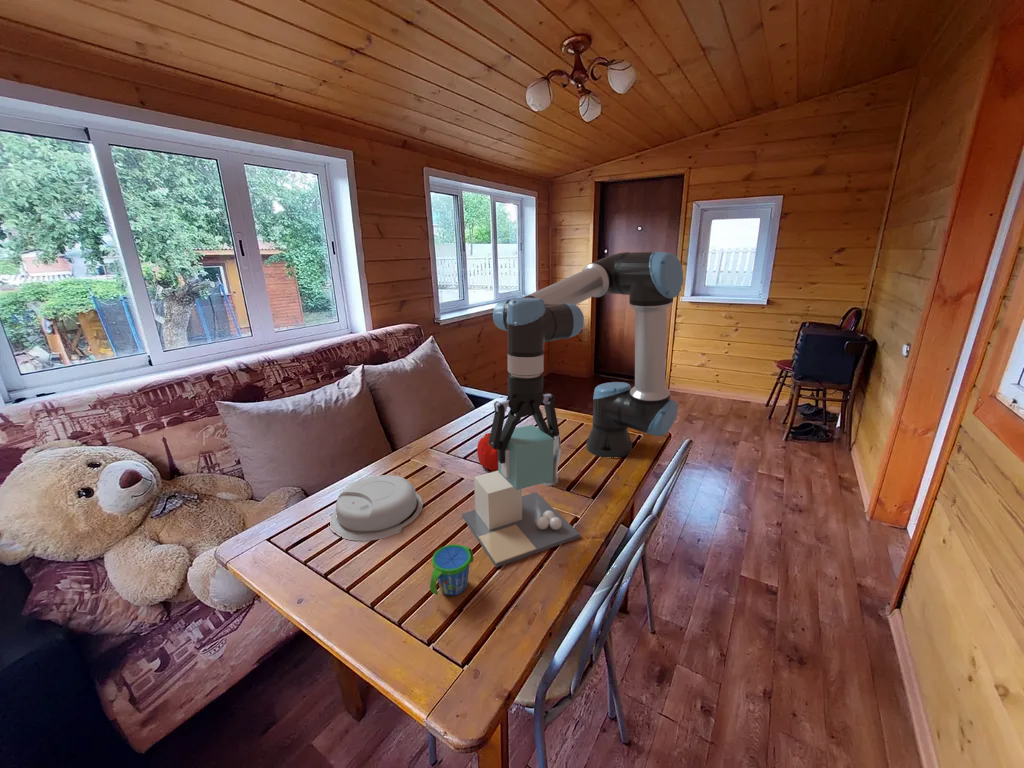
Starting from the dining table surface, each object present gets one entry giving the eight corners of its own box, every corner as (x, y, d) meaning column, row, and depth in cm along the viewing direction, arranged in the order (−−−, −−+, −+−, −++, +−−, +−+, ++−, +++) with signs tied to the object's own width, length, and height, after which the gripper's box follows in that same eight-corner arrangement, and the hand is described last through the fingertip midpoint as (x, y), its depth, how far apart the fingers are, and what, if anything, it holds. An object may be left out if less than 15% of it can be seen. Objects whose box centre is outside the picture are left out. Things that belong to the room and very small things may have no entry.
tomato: (470, 472, 132) (469, 441, 129) (488, 454, 144) (487, 425, 141) (511, 480, 128) (510, 448, 124) (526, 461, 139) (526, 431, 136)
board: (536, 495, 120) (536, 491, 119) (579, 537, 102) (580, 532, 101) (462, 516, 110) (462, 512, 110) (496, 567, 92) (495, 562, 92)
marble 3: (557, 523, 105) (557, 513, 104) (564, 530, 103) (564, 519, 102) (546, 527, 104) (547, 516, 103) (553, 533, 101) (553, 523, 101)
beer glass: (558, 488, 123) (559, 440, 118) (535, 486, 124) (535, 439, 120) (561, 476, 129) (562, 430, 125) (538, 474, 131) (538, 429, 126)
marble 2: (550, 517, 108) (550, 506, 107) (557, 523, 105) (557, 512, 104) (540, 520, 107) (540, 509, 106) (546, 526, 104) (546, 516, 103)
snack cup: (445, 614, 81) (442, 581, 78) (419, 594, 85) (416, 563, 83) (486, 579, 89) (485, 549, 87) (461, 563, 94) (459, 534, 91)
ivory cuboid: (506, 501, 115) (505, 468, 112) (522, 519, 107) (521, 484, 104) (475, 510, 111) (473, 476, 108) (489, 529, 103) (488, 493, 100)
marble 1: (544, 523, 105) (544, 512, 105) (551, 530, 103) (551, 519, 102) (534, 526, 104) (534, 516, 103) (540, 533, 102) (540, 522, 101)
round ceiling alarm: (443, 511, 113) (442, 491, 112) (352, 555, 97) (348, 532, 95) (397, 477, 131) (395, 459, 129) (313, 510, 115) (310, 490, 113)
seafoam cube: (532, 463, 102) (532, 424, 99) (552, 480, 94) (553, 438, 91) (498, 471, 98) (497, 431, 95) (516, 490, 90) (516, 446, 87)
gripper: (559, 363, 97) (556, 453, 103) (470, 375, 88) (473, 473, 94) (578, 371, 91) (574, 466, 97) (484, 384, 81) (487, 489, 88)
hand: (524, 470), depth 95 cm, fingers closed on seafoam cube, 9 cm apart
